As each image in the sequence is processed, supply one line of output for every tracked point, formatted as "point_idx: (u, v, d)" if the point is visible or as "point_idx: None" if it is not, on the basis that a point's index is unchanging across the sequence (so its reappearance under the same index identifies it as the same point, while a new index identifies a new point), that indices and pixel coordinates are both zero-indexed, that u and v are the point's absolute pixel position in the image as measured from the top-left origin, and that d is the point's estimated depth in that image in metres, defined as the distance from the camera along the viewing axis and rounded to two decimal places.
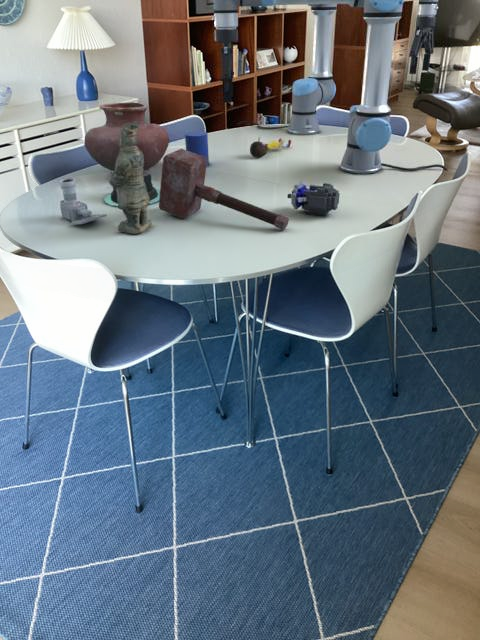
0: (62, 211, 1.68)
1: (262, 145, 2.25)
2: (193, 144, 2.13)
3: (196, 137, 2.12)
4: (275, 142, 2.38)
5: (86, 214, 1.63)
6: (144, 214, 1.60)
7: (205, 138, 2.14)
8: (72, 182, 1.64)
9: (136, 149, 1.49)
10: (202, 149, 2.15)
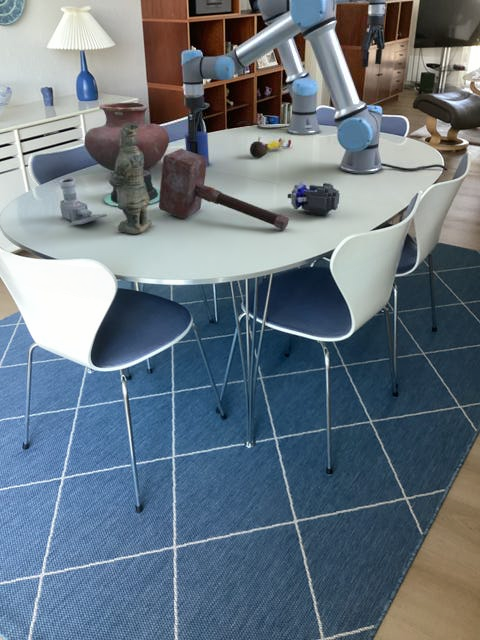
0: (62, 211, 1.68)
1: (262, 145, 2.25)
2: None
3: None
4: (275, 142, 2.38)
5: (86, 214, 1.63)
6: (144, 214, 1.60)
7: (205, 138, 2.14)
8: (72, 182, 1.64)
9: (136, 149, 1.49)
10: (202, 149, 2.15)
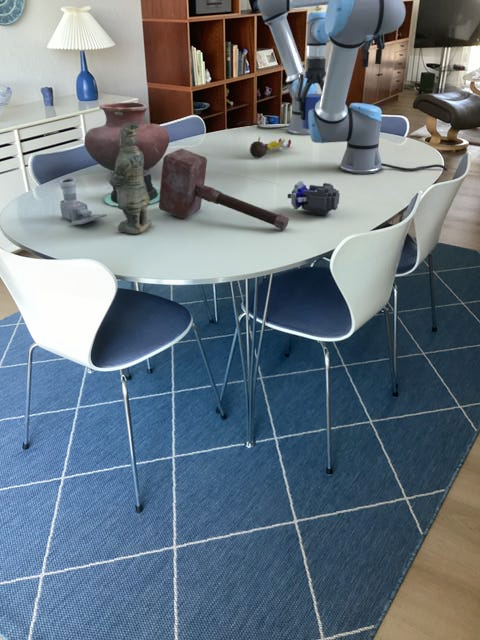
0: (62, 211, 1.68)
1: (262, 145, 2.25)
2: None
3: (305, 97, 2.21)
4: (275, 142, 2.38)
5: (86, 214, 1.63)
6: (144, 214, 1.60)
7: (314, 100, 2.19)
8: (72, 182, 1.64)
9: (136, 149, 1.49)
10: (308, 110, 2.22)
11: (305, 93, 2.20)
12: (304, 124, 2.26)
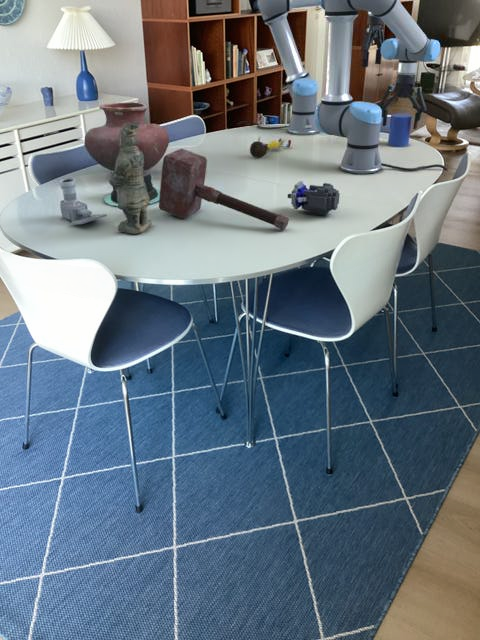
0: (62, 211, 1.68)
1: (262, 145, 2.25)
2: None
3: (391, 116, 2.40)
4: (275, 142, 2.38)
5: (86, 214, 1.63)
6: (144, 214, 1.60)
7: (394, 120, 2.37)
8: (72, 182, 1.64)
9: (136, 149, 1.49)
10: (390, 128, 2.40)
11: (388, 102, 2.37)
12: (388, 140, 2.45)
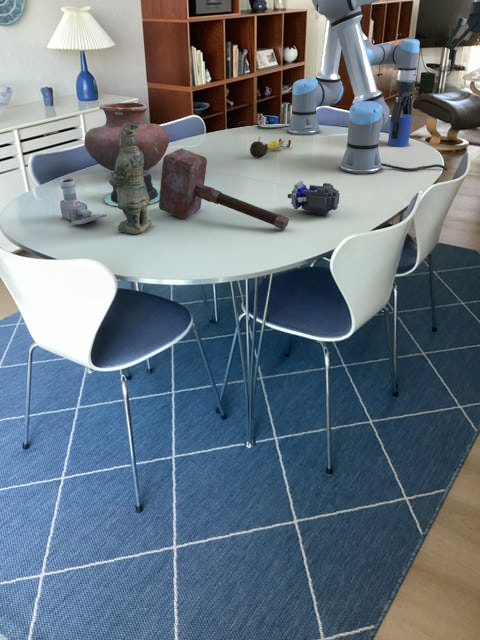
0: (62, 211, 1.68)
1: (262, 145, 2.25)
2: None
3: (391, 116, 2.40)
4: (275, 142, 2.38)
5: (86, 214, 1.63)
6: (144, 214, 1.60)
7: None
8: (72, 182, 1.64)
9: (136, 149, 1.49)
10: (390, 128, 2.40)
11: (458, 40, 1.91)
12: (388, 140, 2.45)
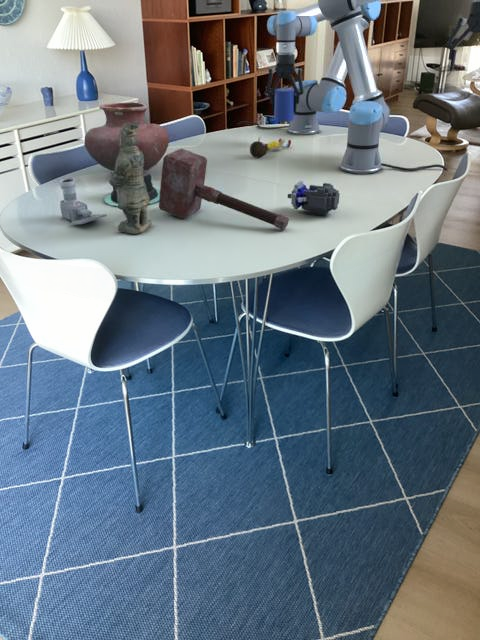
0: (62, 211, 1.68)
1: (262, 145, 2.25)
2: None
3: None
4: (275, 142, 2.38)
5: (86, 214, 1.63)
6: (144, 214, 1.60)
7: None
8: (72, 182, 1.64)
9: (136, 149, 1.49)
10: None
11: (458, 40, 1.91)
12: None
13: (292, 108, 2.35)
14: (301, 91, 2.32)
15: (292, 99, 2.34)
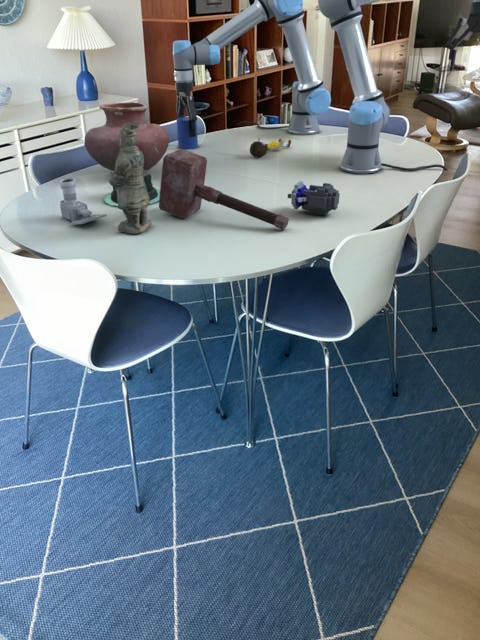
0: (62, 211, 1.68)
1: (262, 145, 2.25)
2: None
3: None
4: (275, 142, 2.38)
5: (86, 214, 1.63)
6: (144, 214, 1.60)
7: None
8: (72, 182, 1.64)
9: (136, 149, 1.49)
10: None
11: (458, 40, 1.91)
12: None
13: (185, 137, 2.42)
14: (191, 117, 2.34)
15: (185, 128, 2.40)
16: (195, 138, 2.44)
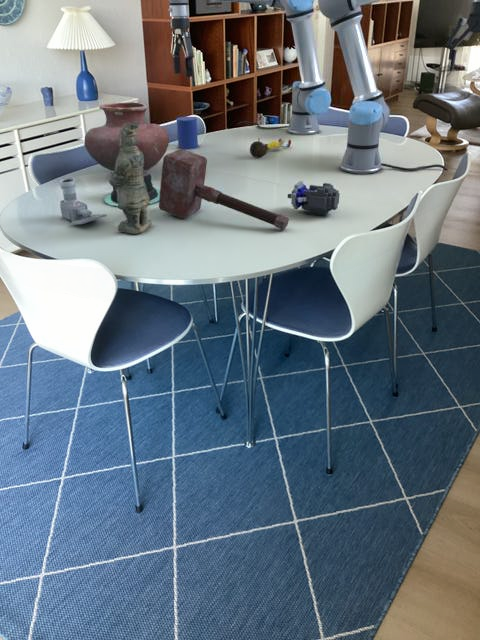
0: (62, 211, 1.68)
1: (262, 145, 2.25)
2: None
3: None
4: (275, 142, 2.38)
5: (86, 214, 1.63)
6: (144, 214, 1.60)
7: None
8: (72, 182, 1.64)
9: (136, 149, 1.49)
10: None
11: (458, 40, 1.91)
12: None
13: (185, 137, 2.42)
14: (187, 54, 2.21)
15: (185, 128, 2.40)
16: (195, 138, 2.44)
